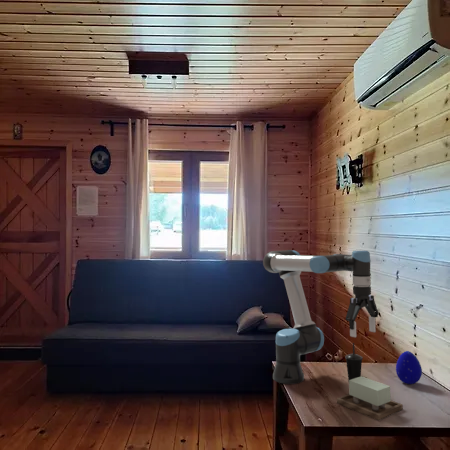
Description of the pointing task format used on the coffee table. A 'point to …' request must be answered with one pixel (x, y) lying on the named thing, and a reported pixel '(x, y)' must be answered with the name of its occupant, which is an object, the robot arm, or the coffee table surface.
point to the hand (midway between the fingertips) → (363, 334)
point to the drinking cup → (353, 365)
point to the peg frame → (370, 407)
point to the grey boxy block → (369, 390)
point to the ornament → (408, 368)
